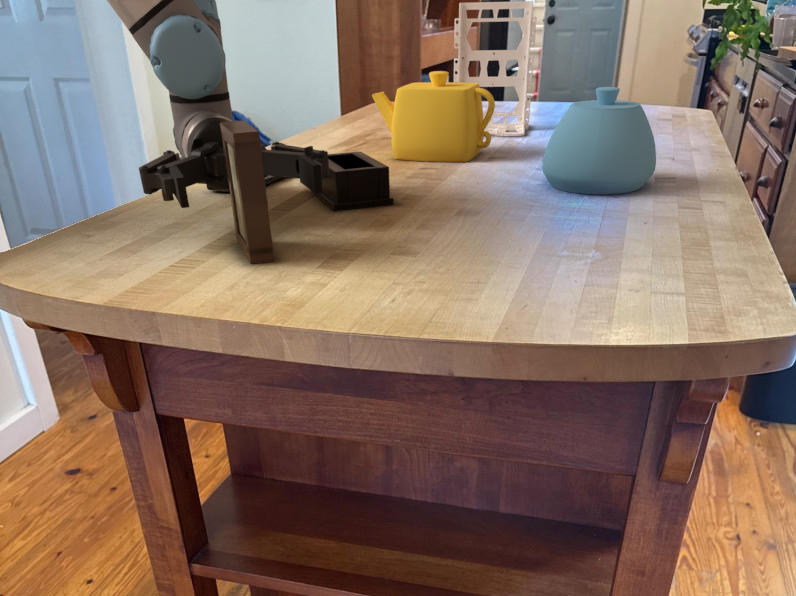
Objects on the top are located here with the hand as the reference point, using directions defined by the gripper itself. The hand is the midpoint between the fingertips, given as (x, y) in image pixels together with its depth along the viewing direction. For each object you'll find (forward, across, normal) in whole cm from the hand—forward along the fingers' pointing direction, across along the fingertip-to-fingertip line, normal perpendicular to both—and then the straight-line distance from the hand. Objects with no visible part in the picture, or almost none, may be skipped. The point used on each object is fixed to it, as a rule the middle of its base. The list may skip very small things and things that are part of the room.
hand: (252, 186), depth 74 cm
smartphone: (-38, -7, -7) cm, 39 cm away
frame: (-2, 0, -7) cm, 7 cm away
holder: (-22, -17, -7) cm, 29 cm away
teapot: (-46, -38, -7) cm, 60 cm away
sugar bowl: (-15, -50, -7) cm, 53 cm away
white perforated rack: (-64, -57, -7) cm, 86 cm away
